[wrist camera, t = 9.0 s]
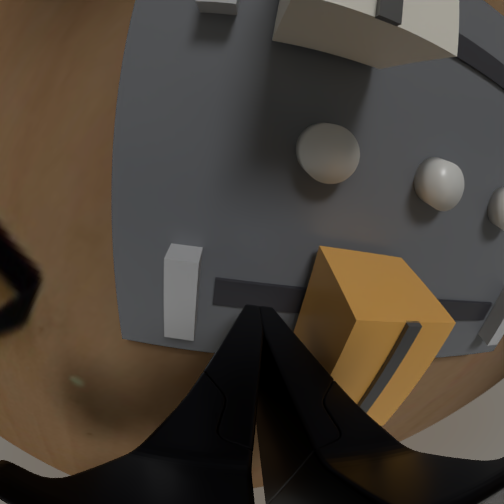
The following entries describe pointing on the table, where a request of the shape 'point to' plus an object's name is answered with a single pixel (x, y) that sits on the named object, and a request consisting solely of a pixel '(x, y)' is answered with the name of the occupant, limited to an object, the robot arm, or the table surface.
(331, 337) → the orange fader
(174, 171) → the console
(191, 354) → the table surface
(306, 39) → the ivory fader
